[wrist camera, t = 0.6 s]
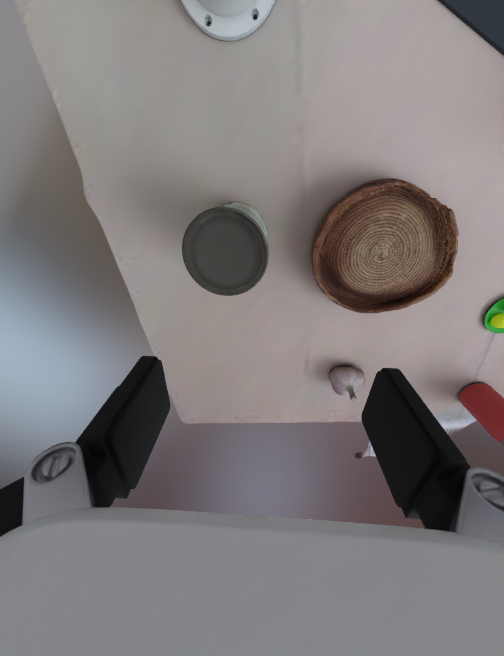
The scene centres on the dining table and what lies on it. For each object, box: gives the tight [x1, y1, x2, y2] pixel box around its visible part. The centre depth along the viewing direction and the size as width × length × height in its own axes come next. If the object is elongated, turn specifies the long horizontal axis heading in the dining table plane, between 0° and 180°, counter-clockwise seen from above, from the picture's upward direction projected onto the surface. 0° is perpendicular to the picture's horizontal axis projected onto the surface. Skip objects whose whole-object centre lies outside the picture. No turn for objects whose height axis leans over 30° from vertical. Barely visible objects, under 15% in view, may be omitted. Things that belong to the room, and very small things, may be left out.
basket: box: [312, 179, 458, 313], centre depth 39 cm, size 22×20×5 cm
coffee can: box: [182, 202, 269, 296], centre depth 35 cm, size 10×10×14 cm
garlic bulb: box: [329, 367, 366, 401], centre depth 51 cm, size 8×7×8 cm
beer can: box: [459, 383, 504, 445], centre depth 50 cm, size 7×7×12 cm
